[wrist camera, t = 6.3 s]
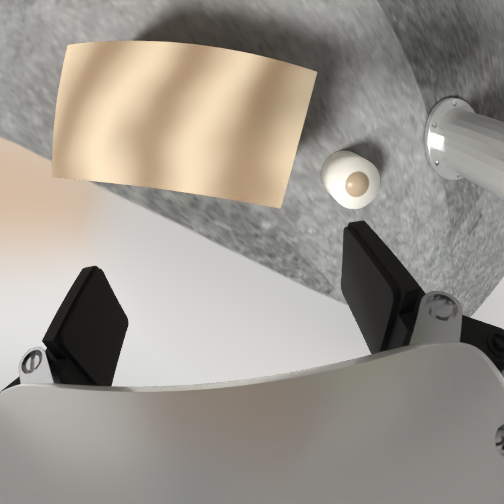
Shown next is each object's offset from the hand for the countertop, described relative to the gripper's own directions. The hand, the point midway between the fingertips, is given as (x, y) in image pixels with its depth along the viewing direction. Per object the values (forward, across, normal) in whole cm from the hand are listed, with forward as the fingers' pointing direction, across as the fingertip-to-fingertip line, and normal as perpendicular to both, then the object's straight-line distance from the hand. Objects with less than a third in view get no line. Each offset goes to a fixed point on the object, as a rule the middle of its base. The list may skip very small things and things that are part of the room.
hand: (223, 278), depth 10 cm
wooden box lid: (+12, +3, -6) cm, 14 cm away
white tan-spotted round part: (+23, -14, +5) cm, 27 cm away
